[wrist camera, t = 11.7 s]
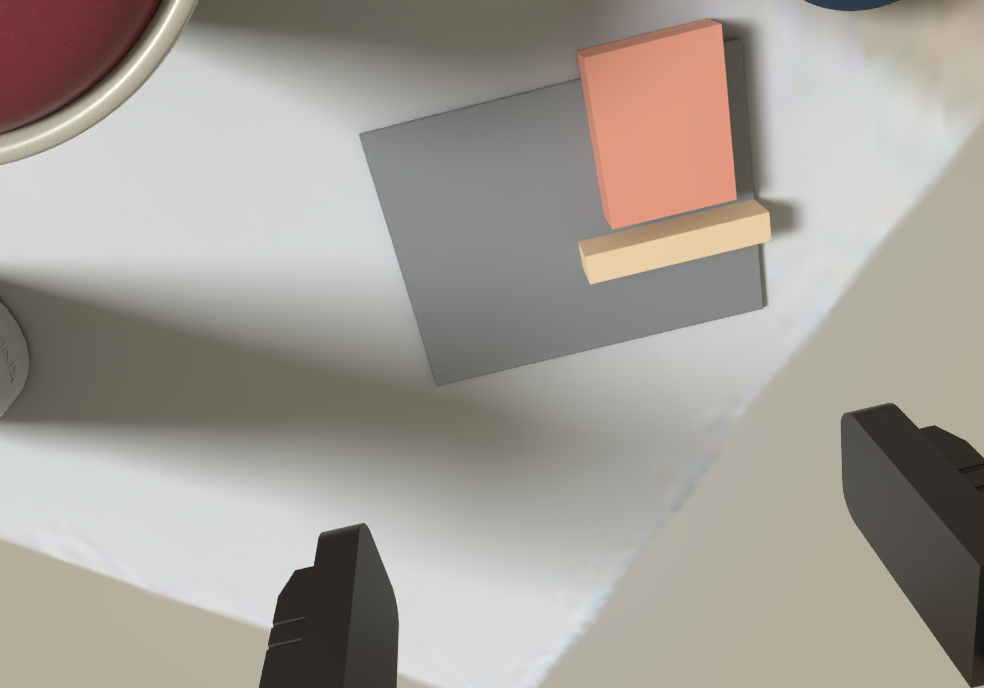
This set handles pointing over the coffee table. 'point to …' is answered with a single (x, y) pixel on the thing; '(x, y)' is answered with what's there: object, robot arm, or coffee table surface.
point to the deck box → (660, 122)
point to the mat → (551, 234)
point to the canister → (76, 64)
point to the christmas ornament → (850, 4)
